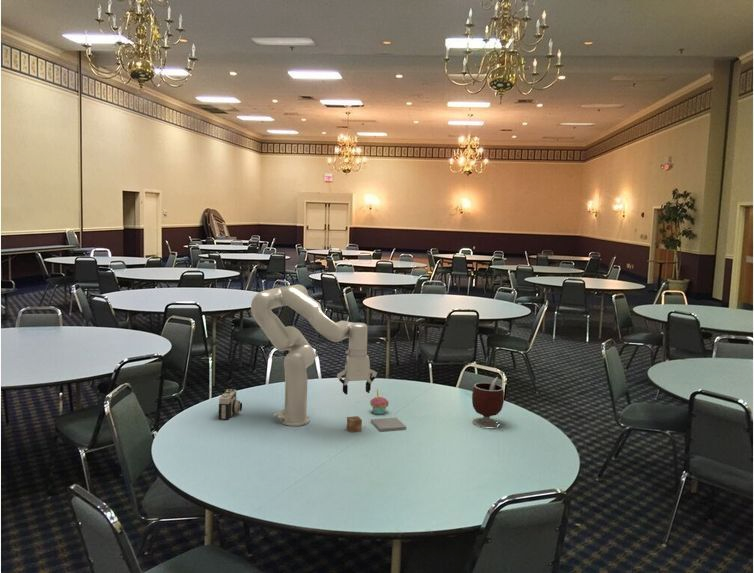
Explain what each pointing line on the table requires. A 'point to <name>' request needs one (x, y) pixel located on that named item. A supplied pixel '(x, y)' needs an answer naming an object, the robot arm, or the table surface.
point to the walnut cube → (354, 424)
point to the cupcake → (379, 404)
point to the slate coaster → (388, 424)
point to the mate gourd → (487, 402)
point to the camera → (228, 404)
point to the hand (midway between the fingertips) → (356, 392)
